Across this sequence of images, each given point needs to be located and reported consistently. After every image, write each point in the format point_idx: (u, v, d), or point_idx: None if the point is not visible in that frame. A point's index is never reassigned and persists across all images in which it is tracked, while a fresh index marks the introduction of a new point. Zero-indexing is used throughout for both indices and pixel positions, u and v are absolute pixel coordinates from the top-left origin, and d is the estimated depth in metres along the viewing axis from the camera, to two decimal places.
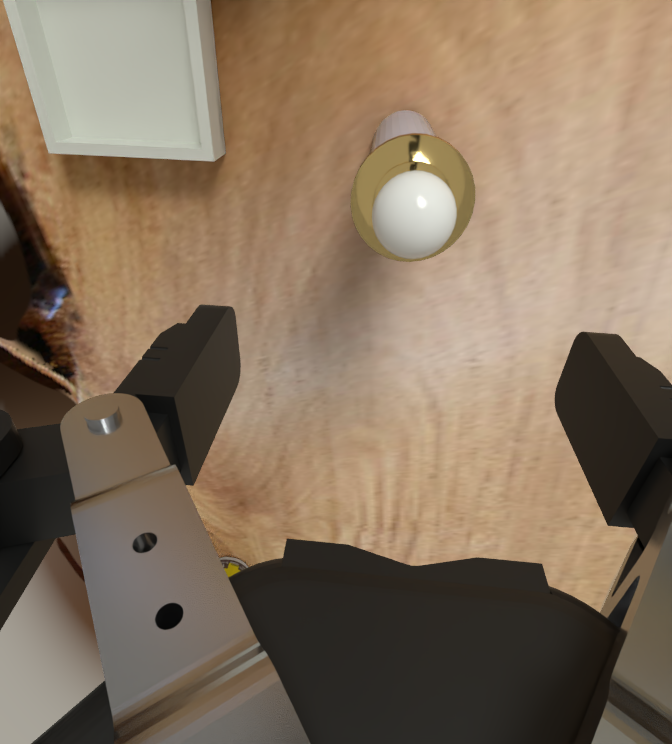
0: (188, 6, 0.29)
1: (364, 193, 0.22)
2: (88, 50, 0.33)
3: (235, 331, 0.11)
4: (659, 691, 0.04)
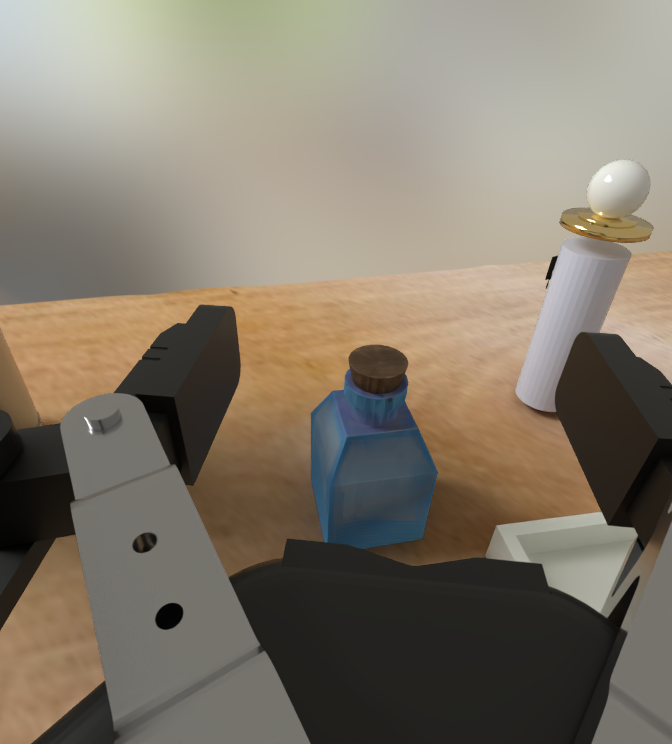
0: (559, 524, 0.27)
1: (623, 231, 0.30)
2: None
3: (235, 331, 0.11)
4: (659, 691, 0.04)
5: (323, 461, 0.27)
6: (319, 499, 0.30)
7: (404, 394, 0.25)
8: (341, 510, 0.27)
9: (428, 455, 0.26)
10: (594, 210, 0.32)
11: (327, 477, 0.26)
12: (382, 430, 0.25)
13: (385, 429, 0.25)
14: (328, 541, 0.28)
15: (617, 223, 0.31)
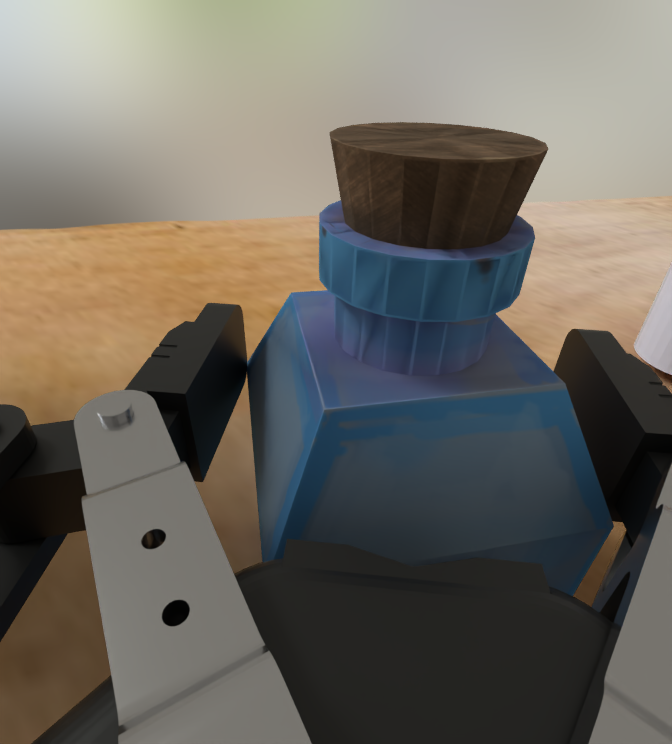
0: None
1: None
2: None
3: (242, 329, 0.11)
4: (653, 688, 0.04)
5: (258, 491, 0.09)
6: None
7: (526, 262, 0.07)
8: None
9: (591, 474, 0.08)
10: None
11: (263, 547, 0.08)
12: (446, 389, 0.07)
13: (457, 387, 0.07)
14: None
15: None
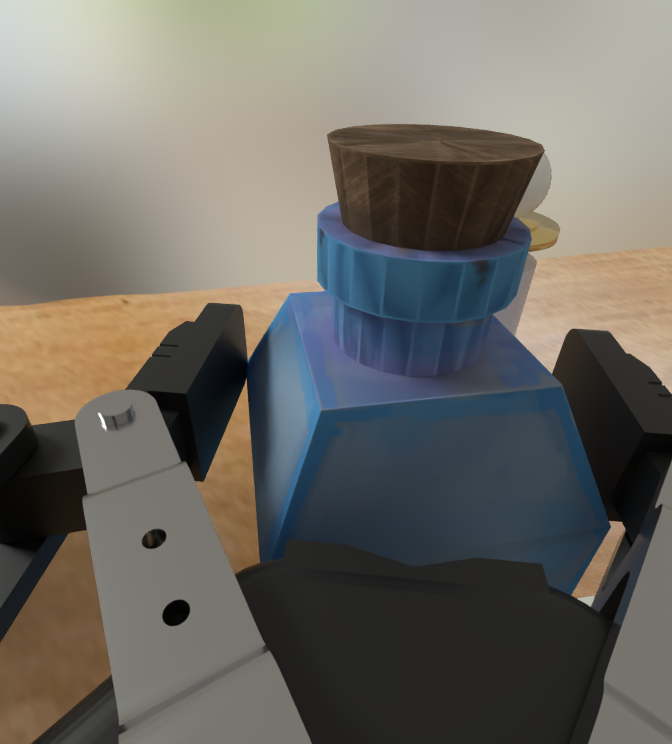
0: None
1: None
2: None
3: (243, 329, 0.11)
4: (653, 687, 0.04)
5: (256, 491, 0.09)
6: None
7: (522, 264, 0.07)
8: None
9: (587, 475, 0.08)
10: None
11: (260, 547, 0.08)
12: (444, 390, 0.07)
13: (454, 388, 0.07)
14: None
15: None
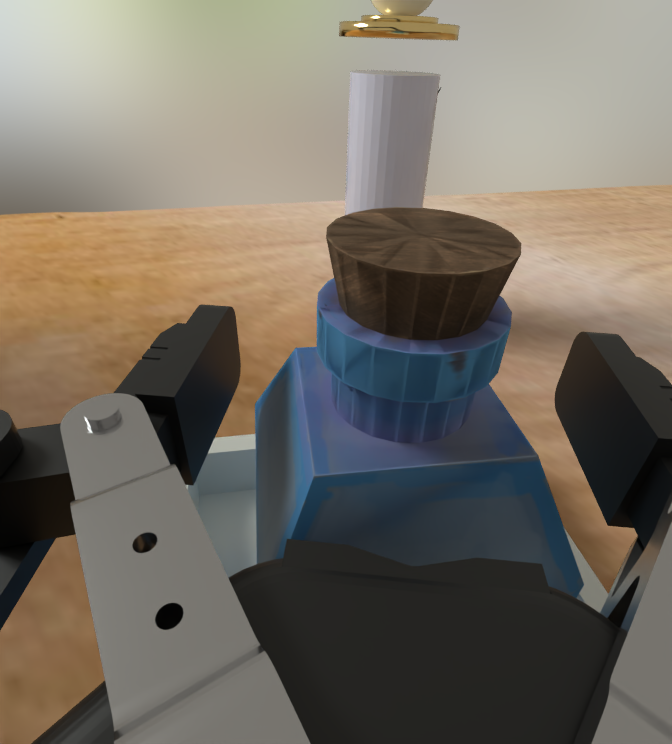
0: None
1: None
2: None
3: (235, 331, 0.11)
4: (659, 690, 0.04)
5: (257, 535, 0.10)
6: None
7: (502, 348, 0.08)
8: None
9: (562, 537, 0.09)
10: (374, 3, 0.22)
11: None
12: (427, 458, 0.08)
13: (437, 456, 0.08)
14: None
15: None
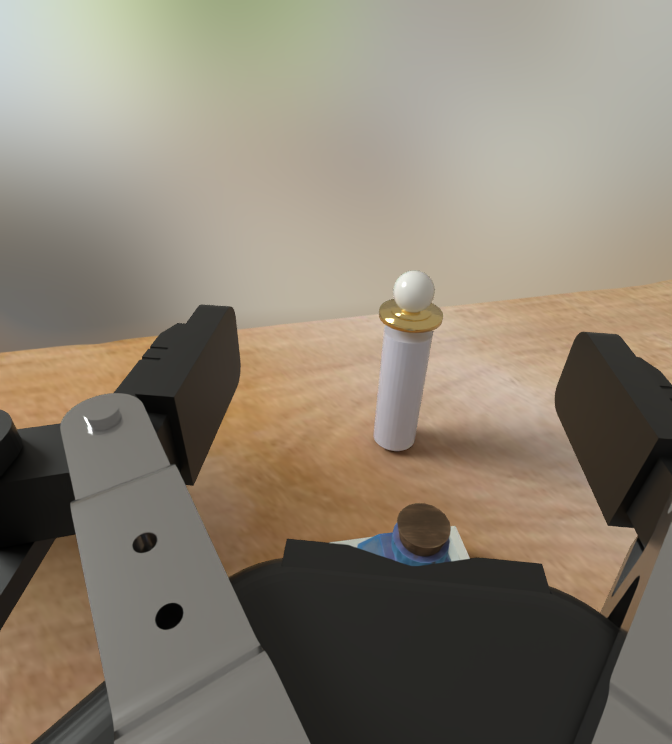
0: (352, 544, 0.38)
1: (415, 324, 0.41)
2: None
3: (235, 331, 0.11)
4: (659, 691, 0.04)
5: None
6: None
7: (446, 554, 0.28)
8: None
9: None
10: (398, 306, 0.42)
11: None
12: None
13: None
14: None
15: (412, 317, 0.41)
